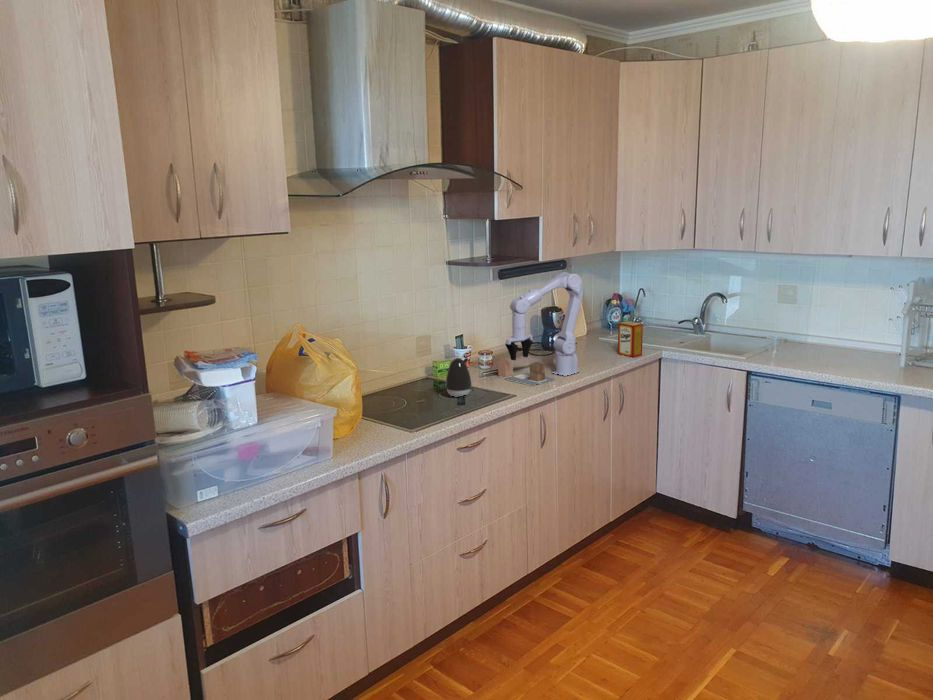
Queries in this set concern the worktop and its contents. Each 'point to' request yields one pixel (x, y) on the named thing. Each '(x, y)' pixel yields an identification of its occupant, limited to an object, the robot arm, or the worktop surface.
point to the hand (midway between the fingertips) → (519, 358)
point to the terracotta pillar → (505, 368)
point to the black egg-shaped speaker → (458, 378)
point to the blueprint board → (527, 379)
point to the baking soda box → (630, 339)
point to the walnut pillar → (537, 371)
